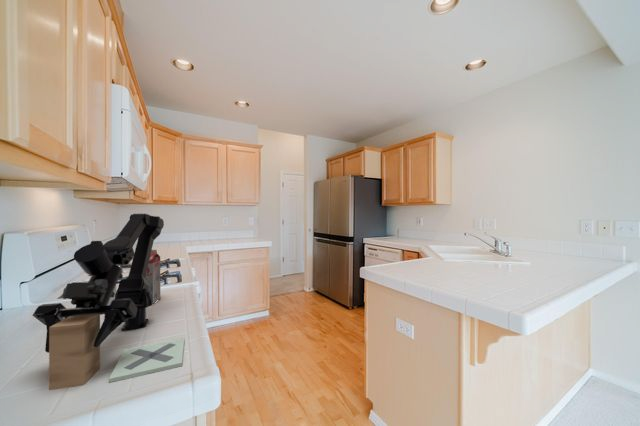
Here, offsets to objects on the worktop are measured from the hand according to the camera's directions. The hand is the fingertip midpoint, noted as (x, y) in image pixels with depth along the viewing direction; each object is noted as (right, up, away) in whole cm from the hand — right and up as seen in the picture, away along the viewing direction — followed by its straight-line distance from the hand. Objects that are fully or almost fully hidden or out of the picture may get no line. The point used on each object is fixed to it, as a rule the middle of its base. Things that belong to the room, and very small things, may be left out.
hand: (71, 349), depth 56 cm
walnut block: (0, -7, +1) cm, 7 cm away
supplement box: (-30, -8, +42) cm, 53 cm away
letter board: (+12, -7, +9) cm, 16 cm away
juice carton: (-18, -8, +52) cm, 55 cm away
